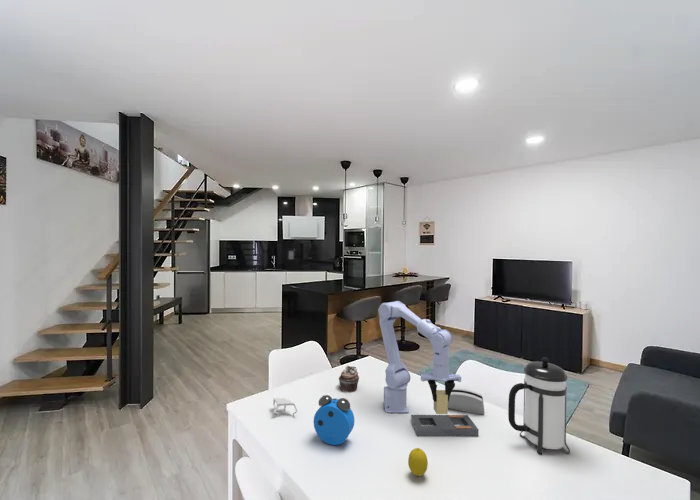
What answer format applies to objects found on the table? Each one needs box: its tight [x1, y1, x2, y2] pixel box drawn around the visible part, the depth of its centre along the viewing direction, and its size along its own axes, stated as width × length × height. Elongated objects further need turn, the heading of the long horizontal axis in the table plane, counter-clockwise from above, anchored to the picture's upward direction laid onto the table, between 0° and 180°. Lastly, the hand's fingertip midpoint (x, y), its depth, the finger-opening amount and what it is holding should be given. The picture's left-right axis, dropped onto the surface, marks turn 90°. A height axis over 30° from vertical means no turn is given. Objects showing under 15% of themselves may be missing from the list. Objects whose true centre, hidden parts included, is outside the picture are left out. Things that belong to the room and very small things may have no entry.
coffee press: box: [507, 356, 571, 456], centre depth 110 cm, size 17×16×30 cm
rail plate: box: [410, 414, 479, 437], centre depth 119 cm, size 22×10×3 cm, turn 91°
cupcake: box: [338, 365, 360, 393], centre depth 152 cm, size 10×10×10 cm
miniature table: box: [272, 397, 298, 418], centre depth 127 cm, size 12×8×5 cm
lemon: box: [407, 447, 429, 477], centre depth 94 cm, size 6×6×8 cm
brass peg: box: [433, 389, 449, 415], centre depth 119 cm, size 4×4×7 cm
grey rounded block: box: [448, 387, 485, 415], centre depth 134 cm, size 17×5×10 cm, turn 70°
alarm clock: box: [313, 394, 355, 446], centre depth 110 cm, size 13×6×15 cm, turn 70°
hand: (440, 400), depth 119 cm, fingers closed on brass peg, 4 cm apart
